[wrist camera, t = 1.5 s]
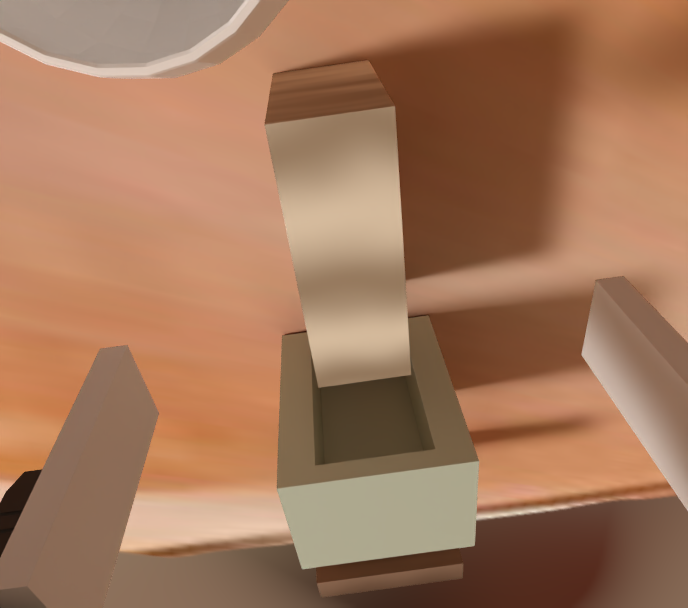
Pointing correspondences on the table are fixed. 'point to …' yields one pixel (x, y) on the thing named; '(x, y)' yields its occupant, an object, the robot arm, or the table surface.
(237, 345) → the table surface
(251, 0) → the cup
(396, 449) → the block
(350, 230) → the peg
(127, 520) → the robot arm
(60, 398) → the table surface
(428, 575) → the wall
